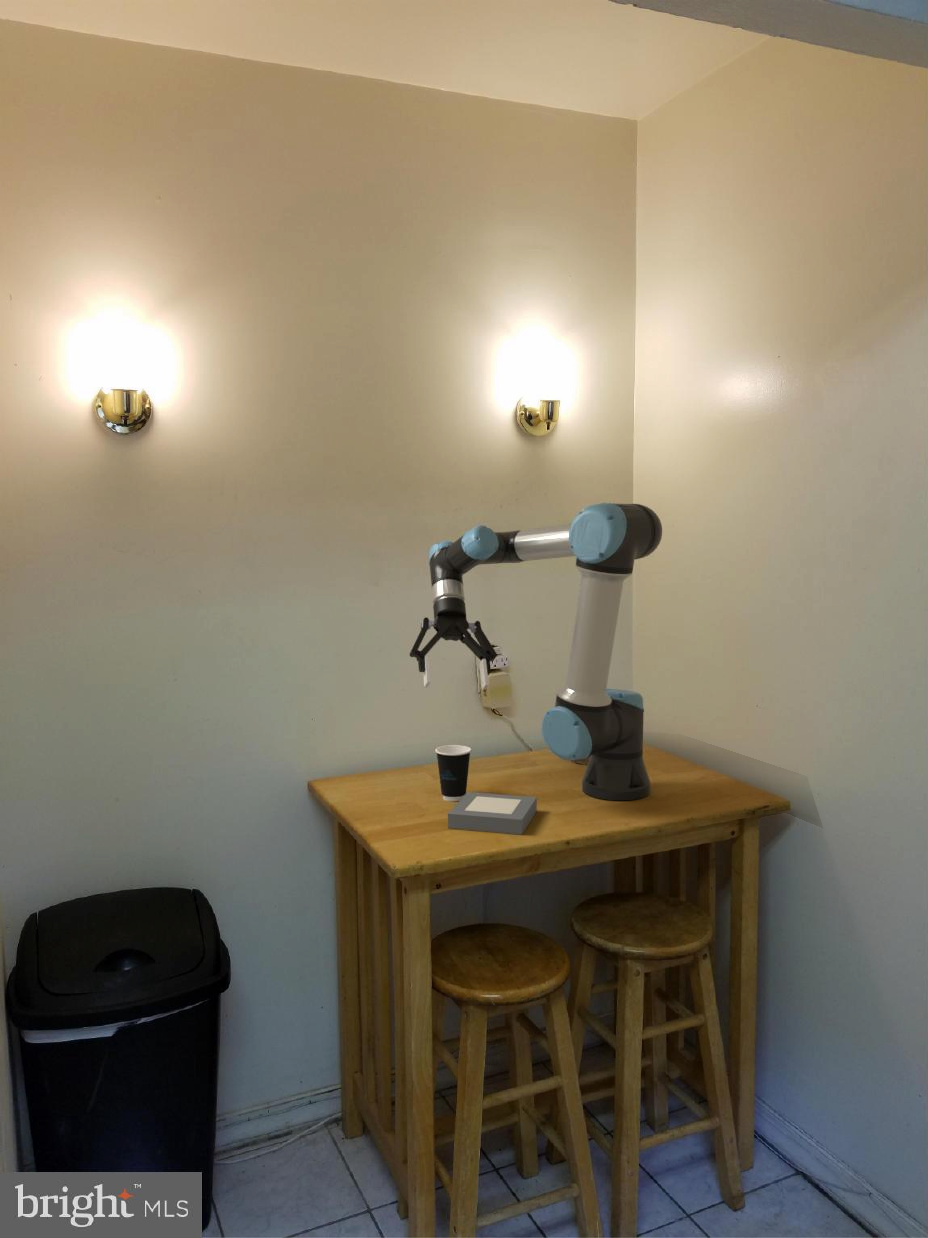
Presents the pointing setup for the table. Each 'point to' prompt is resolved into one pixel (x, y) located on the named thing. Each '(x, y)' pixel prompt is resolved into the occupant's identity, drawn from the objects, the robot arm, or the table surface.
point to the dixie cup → (453, 770)
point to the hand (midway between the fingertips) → (456, 686)
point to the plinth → (493, 813)
